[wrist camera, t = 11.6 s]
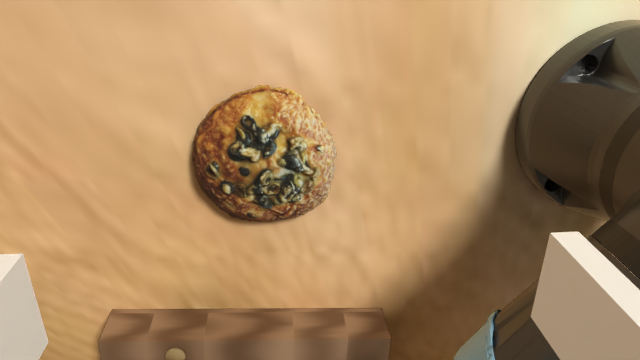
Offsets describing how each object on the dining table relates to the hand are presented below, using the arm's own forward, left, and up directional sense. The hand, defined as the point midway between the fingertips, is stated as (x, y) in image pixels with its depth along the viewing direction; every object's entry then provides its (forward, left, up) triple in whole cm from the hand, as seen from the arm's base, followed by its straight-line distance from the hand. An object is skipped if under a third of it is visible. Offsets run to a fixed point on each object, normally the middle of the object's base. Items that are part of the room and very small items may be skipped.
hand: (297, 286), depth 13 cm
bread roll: (+1, +7, -26) cm, 27 cm away
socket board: (+2, +28, -26) cm, 38 cm away
